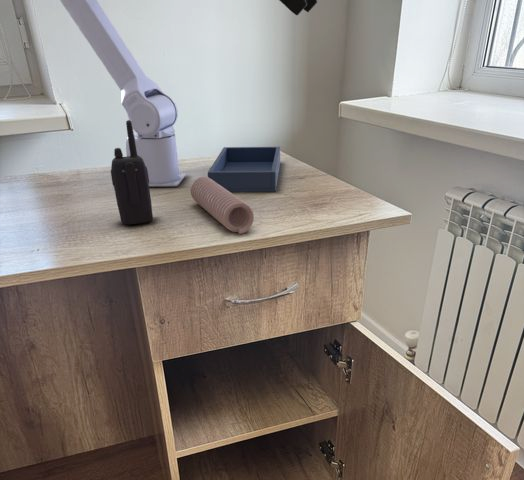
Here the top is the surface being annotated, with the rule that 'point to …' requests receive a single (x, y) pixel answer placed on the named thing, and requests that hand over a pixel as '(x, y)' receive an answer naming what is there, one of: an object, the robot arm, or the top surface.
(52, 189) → the top surface
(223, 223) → the pink hollow tube
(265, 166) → the holder
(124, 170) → the two-way radio
